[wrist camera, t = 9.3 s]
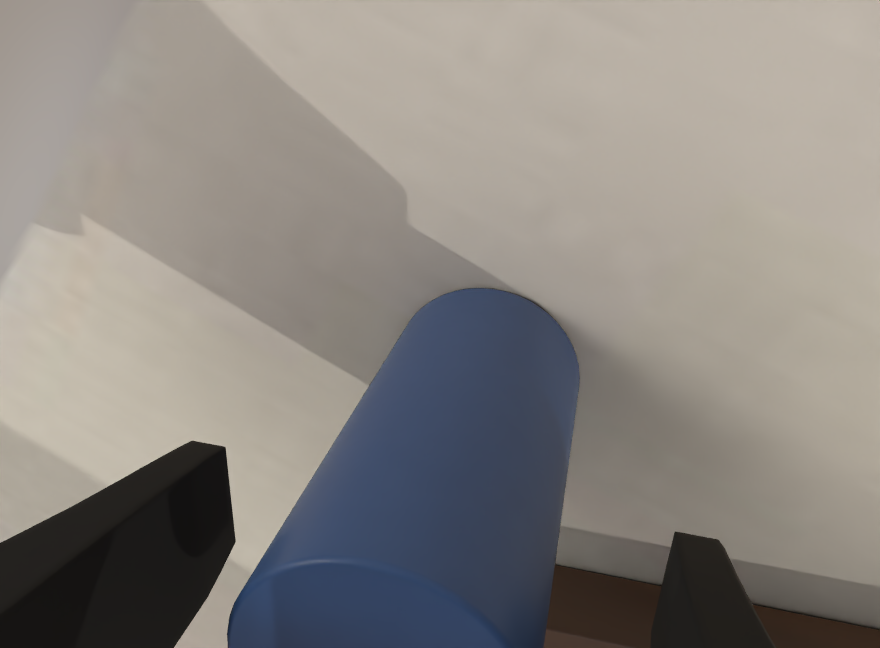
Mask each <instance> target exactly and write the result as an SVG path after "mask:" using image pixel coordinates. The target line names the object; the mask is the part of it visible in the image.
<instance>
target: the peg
mask: <svg viewBox="0 0 880 648" xmlns="http://www.w3.org/2000/svg"><path fill="white" fill-rule="evenodd" d="M579 379H580V375H579V365H578V361H577V357H576V353H575V351H574V348H573V346H572V344H571V342H570V340H569V338H568V337H567V335H566V333H565V332H564V331H563V329H562V328H561V327H560V325H559V324H558V323H557V322H556V321H555V320H554V319H553V318H552V317H551V316H550V315H549V314H548V313H546V312H545V311H544V310H543V309H541V308H540V307H539V306H537V305H535V304H534V303H532V302H531V301H529V300H527V299H524V298H522V297H520V296H518V295H515V294H512V293H509V292H506V291H501V290H496V289H486V288H472V289H463V290H458V291H454V292H451V293H447V294H444V295H442V296H440V297H438V298H436V299H434V300H432V301H431V302H429V303H428V304H426V305H425V306H424V307H422V308H421V309H420V310H419V311H418V312H417V313H416V314H415V315H414V316H413V318H412V319H411V320H410V321H409V323H408V325H407V326H406V328H405V329H404V331H403V333H402V334H401V336H400V337H399V339H398V341H397V342H396V344H395V345H394V347H393V349H392V350H391V352H390V353H389V355H388V357H387V358H386V360H385V361H384V363H383V365H382V366H381V368H380V369H379V371H378V373H377V374H376V376H375V378H374V379H373V381H372V382H371V384H370V386H369V387H368V389H367V390H366V392H365V394H364V395H363V397H362V398H361V400H360V402H359V403H358V405H357V406H356V408H355V410H354V411H353V413H352V414H351V416H350V418H349V419H348V421H347V422H346V424H345V426H344V427H343V429H342V430H341V432H340V434H339V435H338V437H337V439H336V440H335V442H334V443H333V445H332V447H331V448H330V450H329V451H328V453H327V455H326V456H325V458H324V459H323V461H322V463H321V464H320V466H319V467H318V469H317V471H316V472H315V474H314V475H313V477H312V479H311V480H310V482H309V483H308V485H307V487H306V488H305V490H304V491H303V493H302V495H301V496H300V498H299V500H298V501H297V503H296V504H295V506H294V508H293V509H292V511H291V512H290V514H289V516H288V517H287V519H286V520H285V522H284V524H283V525H282V527H281V528H280V530H279V532H278V533H277V535H276V536H275V538H274V540H273V541H272V543H271V544H270V546H269V548H268V549H267V551H266V552H265V554H264V556H263V557H262V559H261V561H260V562H259V564H258V565H257V567H256V569H255V570H254V572H253V573H252V575H251V577H250V578H249V580H248V581H247V583H246V585H245V586H244V588H243V589H242V591H241V593H240V594H239V596H238V598H237V599H236V601H235V603H234V605H233V608H232V611H231V614H230V617H229V624H228V632H227V639H228V648H544V641H545V634H546V627H547V619H548V612H549V604H550V597H551V590H552V582H553V575H554V568H555V560H556V553H557V546H558V538H559V531H560V523H561V516H562V509H563V501H564V494H565V487H566V479H567V472H568V465H569V457H570V450H571V442H572V435H573V428H574V420H575V413H576V406H577V398H578V391H579Z"/></svg>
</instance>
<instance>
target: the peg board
mask: <svg viewBox="0 0 880 648" xmlns="http://www.w3.org/2000/svg"><path fill="white" fill-rule="evenodd" d="M661 587H662V586H658V585H653V584H648V583H643V582H638V581H633V580H628V579H623V578H618V577H613V576H608V575H603V574H598V573H593V572H588V571H583V570H578V569H573V568H568V567H563V566H558V565H555V568H554V575H553V582H552V590H551V597H550V604H549V612H548V619H547V627H546V634H545V641H544V648H651V629H652V625H653V621H654V617H655V613H656V608H657V604H658V600H659V596H660V592H661ZM753 607H754V609H755V611H756V613H757V615H758V616H759V618H760V620H761V622H762V624H763V626H764V627H765V629H766V631H767V633H768V635H769V636H770V638H771V640H772V641H773V643H774V645H775V647H776V648H880V630H877V629H872V628H867V627H862V626H857V625H852V624H847V623H842V622H837V621H832V620H827V619H822V618H817V617H812V616H807V615H802V614H797V613H792V612H787V611H782V610H777V609H772V608H767V607H762V606H757V605H753Z"/></svg>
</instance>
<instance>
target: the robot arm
mask: <svg viewBox="0 0 880 648" xmlns="http://www.w3.org/2000/svg"><path fill="white" fill-rule="evenodd" d="M234 544H235V532H234V523H233V514H232V504H231V495H230V486H229V476H228V467H227V457H226V448H225V447H223V446H217V445H212V444H207V443H201V442H196V441H191V442H189V443H187V444H185V445H183V446H181V447H179V448H177V449H175V450H173V451H171V452H169V453H167V454H166V455H164V456H162V457H160V458H158V459H156V460H155V461H153V462H151V463H149V464H148V465H146V466H144V467H142V468H140V469H139V470H137V471H135V472H133V473H132V474H130V475H128V476H126V477H125V478H123V479H121V480H119V481H117V482H116V483H114V484H112V485H110V486H108V487H107V488H105V489H103V490H101V491H99V492H98V493H96V494H94V495H92V496H90V497H89V498H87V499H85V500H83V501H81V502H80V503H78V504H76V505H74V506H72V507H70V508H68V509H66V510H64V511H62V512H61V513H59V514H57V515H55V516H53V517H51V518H49V519H47V520H45V521H43V522H41V523H39V524H37V525H35V526H33V527H31V528H29V529H27V530H25V531H23V532H21V533H19V534H17V535H15V536H13V537H11V538H9V539H7V540H5V541H3V542H1V543H0V648H174V646H175V645H176V643H177V642H178V640H179V639H180V638H181V636H182V635H183V633H184V632H185V630H186V629H187V627H188V626H189V624H190V623H191V621H192V620H193V618H194V617H195V615H196V614H197V612H198V611H199V609H200V608H201V606H202V605H203V603H204V602H205V600H206V599H207V597H208V595H209V593H210V591H211V590H212V588H213V586H214V584H215V582H216V580H217V578H218V576H219V574H220V573H221V571H222V568H223V566H224V564H225V562H226V560H227V558H228V556H229V554H230V552H231V550H232V548H233V546H234ZM651 648H776V647H775V645H774V643H773V641H772V640H771V638H770V636H769V635H768V633H767V631H766V629H765V627H764V626H763V624H762V622H761V620H760V618H759V616H758V615H757V613H756V611H755V609H754V607H753V605H752V603H751V601H750V599H749V597H748V596H747V594H746V592H745V590H744V588H743V586H742V584H741V582H740V580H739V578H738V576H737V574H736V572H735V570H734V567H733V565H732V563H731V561H730V559H729V557H728V555H727V553H726V550H725V548H724V547H723V545H722V544H721V543H720V541H719V540H717V539H712V538H707V537H701V536H696V535H691V534H685V533H680V532H675V533H674V537H673V541H672V545H671V550H670V554H669V558H668V562H667V566H666V571H665V575H664V579H663V583H662V587H661V592H660V596H659V600H658V604H657V608H656V613H655V617H654V621H653V625H652V629H651Z"/></svg>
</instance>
